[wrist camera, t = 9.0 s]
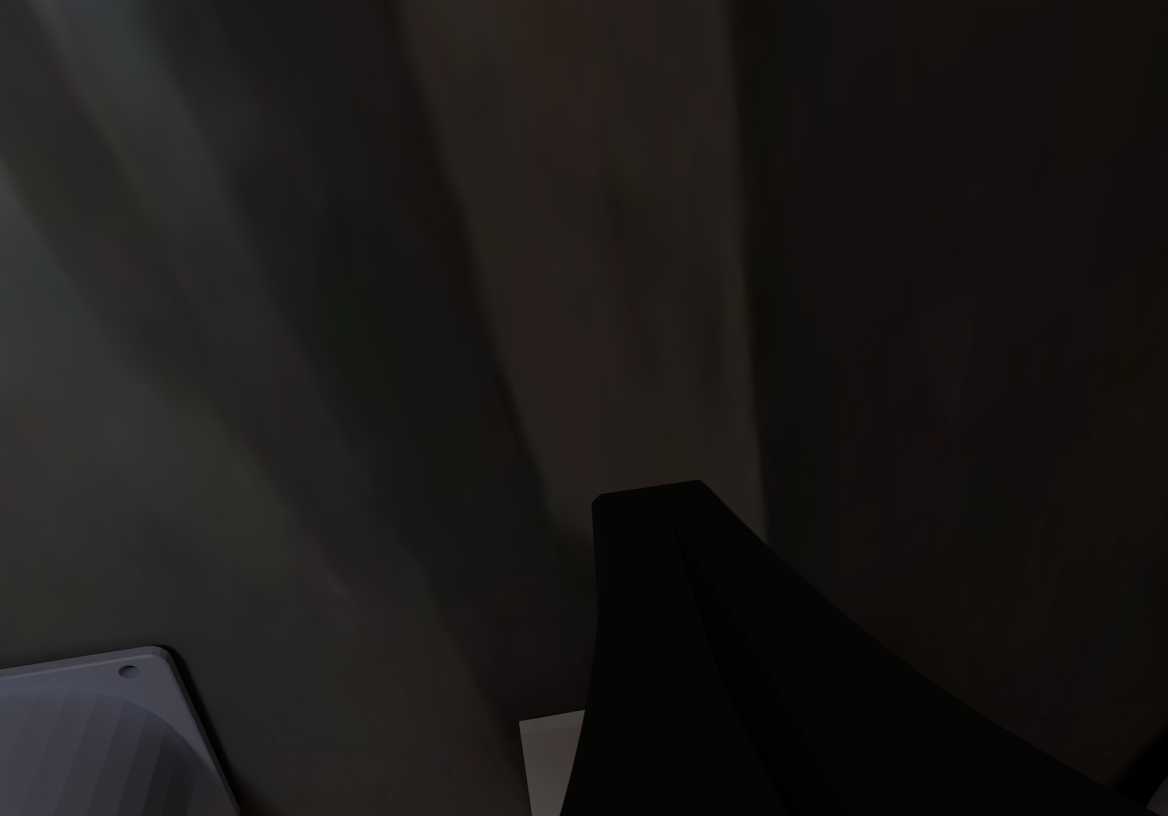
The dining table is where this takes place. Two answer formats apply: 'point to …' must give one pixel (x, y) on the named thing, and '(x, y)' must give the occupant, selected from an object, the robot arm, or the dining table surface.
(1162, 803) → the serving bowl
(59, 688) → the robot arm
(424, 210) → the dining table surface
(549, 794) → the mat
